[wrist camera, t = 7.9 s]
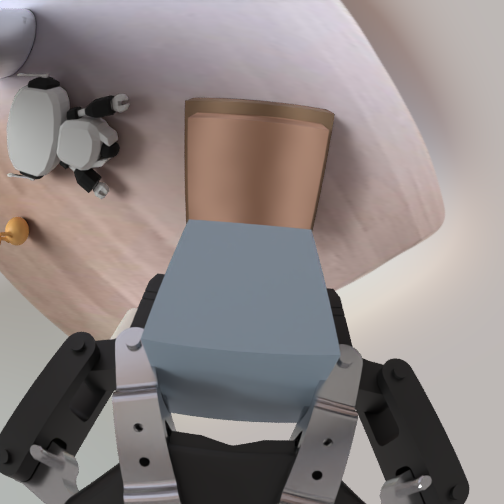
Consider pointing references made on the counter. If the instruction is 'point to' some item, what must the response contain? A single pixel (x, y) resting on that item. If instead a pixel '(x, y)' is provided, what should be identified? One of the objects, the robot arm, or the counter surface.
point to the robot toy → (61, 133)
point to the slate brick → (242, 323)
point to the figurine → (15, 231)
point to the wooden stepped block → (255, 161)
